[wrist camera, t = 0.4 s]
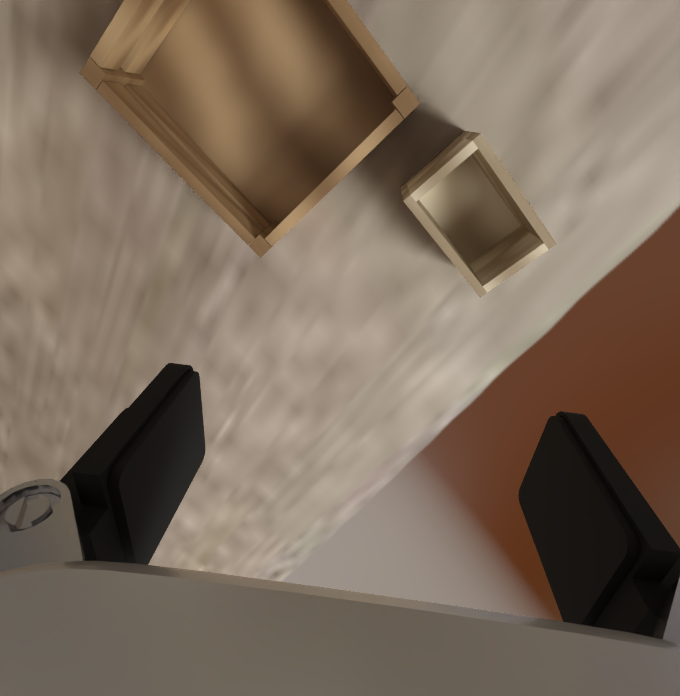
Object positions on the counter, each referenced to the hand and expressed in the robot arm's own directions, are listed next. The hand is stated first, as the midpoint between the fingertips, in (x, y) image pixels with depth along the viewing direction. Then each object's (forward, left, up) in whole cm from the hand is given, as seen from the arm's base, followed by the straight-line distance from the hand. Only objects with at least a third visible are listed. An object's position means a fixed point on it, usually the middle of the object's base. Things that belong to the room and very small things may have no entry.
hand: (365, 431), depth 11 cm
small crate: (-6, +4, -27) cm, 27 cm away
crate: (0, -12, -27) cm, 29 cm away
